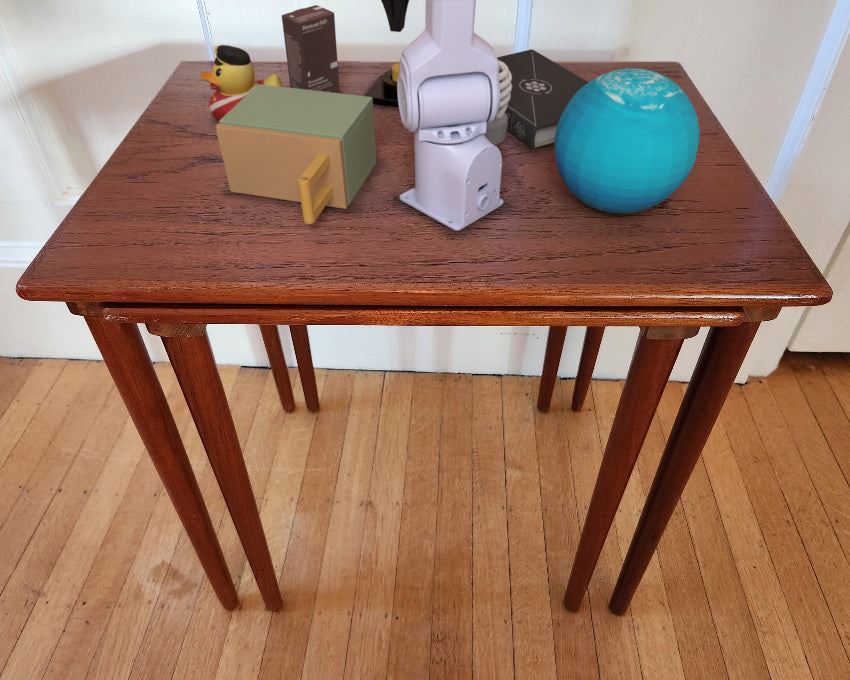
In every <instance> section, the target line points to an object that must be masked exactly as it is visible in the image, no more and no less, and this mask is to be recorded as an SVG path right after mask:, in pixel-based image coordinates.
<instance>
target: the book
mask: <svg viewBox="0 0 850 680" xmlns="http://www.w3.org/2000/svg"><path fill="white" fill-rule="evenodd" d="M497 59H498V60H499V61H502V62H503V63H505V64H506V65H507V67H508V69H509V71H510V72H511V75H512V81H511V84H512V89H511V92H510V93H511V97H510V100H509V102H508V106H507V108H506V111H505V113H506V114H507V116H508V126H507V131H506V132H508V133H510V134H511V135H512V136H513V137H515V138H516V139H518V141H520V142H521V143H523V144H524V145H525V146H527V147H528V148H529V149H531V150H535V149H540V148H543V147H546V146H550V145H553V144H554V141H555V133H556V128H557V125H558V123H559V120H560V118H561V115H562V114H563V112H564V110H565V108H566V107H567V105H568V103H569V102H570V100H571V99H572V97H573V96H574V95H575V94H576V93H577V92H578V91H579V90H580V89H581V88H582V87H583V86H585V85H586V84H587V83H589V82H590V81H588V80H586V79H584V78H582V77H581V76H579V75H577V74H576V73H574V72H572V71H570V70H568V69H567V68H566V67H564V66H562V65H560V64H559V63H557V62H555V61H553V60H552V59H550V58H548V57H546V56H545V55H543V54H541V53H539V52H538V51H536V50H534V49H528V50H527V49H526V50H523V51H522V50H521V51H519V52H514V53H510V54H506V55H505V54H504V55H501V56H497ZM499 73H501V71H499ZM499 82H500V83H501V82H502V81H499ZM500 92H502V91H500ZM499 109H501V108H499Z"/></svg>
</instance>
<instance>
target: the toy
mask: <svg viewBox="0 0 850 680" xmlns="http://www.w3.org/2000/svg"><path fill="white" fill-rule="evenodd" d="M214 53H215V55H216V57H215V58H214V61H213V66H212V69H211V71H209V72H208V71H200V77H201V79H202V80H203V81H205V82H207V83H209V89H210V90H212V91H213V90H214V92H213V93H212V94H211V96H210V97H209V99H208V109H209V112H210V115H211V116H212V118H213V119H214V120H215V121H216V122H218V123H220V122H219V121H220V120H221V119H222V118H223V117H224V116H225V115H226V114H227V113H228V112H229V111H230V110H231V109H232V108H234V107H235V106H236V105H237V104H238V103H239V102H240V101H241V100H242V99H243V98H244V97H245V96H246V95H247V94H249V93H250V92H251V91H252V90H253V89H254V88H255V87H256V86H257V85H258V84H261V85H270V86H279V87H285V86H284V83H283V82H282V79H281V77H280V75H279V74H277V73H272V74H271V75H269V76H268V77H267V78H265V79H261V80H260V79H259V80H256V74H255V67H254V64H253V62H252V60H251V57H250V54H249V53H248V51H246V50H244V49H242V48H240V47H236V46H232V45H229V44H219V45H217V46H215V48H214Z"/></svg>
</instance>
